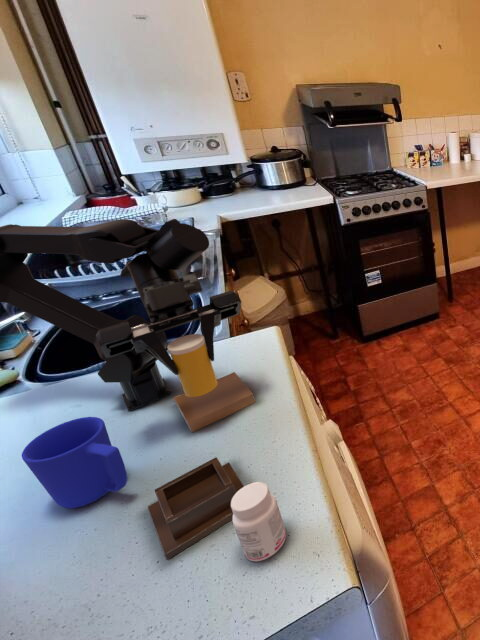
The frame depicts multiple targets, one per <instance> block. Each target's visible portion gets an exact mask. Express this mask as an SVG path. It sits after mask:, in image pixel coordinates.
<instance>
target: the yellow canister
mask: <svg viewBox="0 0 480 640" xmlns="http://www.w3.org/2000/svg"><path fill="white" fill-rule="evenodd" d="M166 350H167V352H168V354H169V355H170V357H171V359H172V360H173V362H174V363H175V365H176V368H177V370H178V373H179V374H178V375H177V376H178V379H179V381H180V385H181V388H182V390H183V393H185V395H186V396H188V397H198V396H201V395H204V394H207V393H209V392H210V391H212V390H213V389H214V388H215V387H216V386H217V384H218V382H217V379H218V378H217V376H216V372H215V370H214V367H213V364H212V361H211V360H210V357H209V354H208V351H207V348H206V345H205V339H204V337H203V335H202V334H201V333H200V334H199V333H192V334H187V335H182V336H180V337H177V338H175V339H174V340H172V341H170V342H169V343H168V344H167V347H166Z"/></svg>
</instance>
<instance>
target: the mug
mask: <svg viewBox="0 0 480 640" xmlns="http://www.w3.org/2000/svg"><path fill="white" fill-rule="evenodd" d="M21 458H22V461H23V462H24V463H25V465H26V466H27V467H28V469H29V470H30V471H31V473H32V474H33V475H34V476H35V478H36V479H37V480H38V482H39V483H40V484H41V486H42V487H43V488H44V489H45V491H46V492H47V493H48V495H49V496H50V497H51V499H52V500H53V501H54V502H55V504H57V506H59V507H61V508H65V509H75V508H79V507H80V508H81V507H83V506H86V505H89V504H92V503H93V502H96V501H97V500H99V499H100V498H102V497H104V496H105V495H106V494H107V493H109V492H118V491H121V489H123V488H124V487H125V486H126V485H127V483H128V473H127V470H126V466H125V463H124V460H123V457H122V454H121V452H120V449H119V448H118V447H117V446H115V445H112V443H111V440H110V436H109V433H108V430H107V427H106V424H105V421H104V420H103V419H102V418H101V417H96V416H86V417H84V416H83V417H79V418H74V419H71V420H69V421H68V420H67V421H65V422H62V423H60V424H58V425H55V426H53V427H51V428H49V429H47V430H46V431H44V432H42V433H41V434H39V435H37V436H35V438H34V439H32V440H31V441H30V442H29V443H28V444H27V445H26V446H25V447H24V448H23V451H22V452H21Z"/></svg>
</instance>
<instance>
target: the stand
mask: <svg viewBox="0 0 480 640" xmlns="http://www.w3.org/2000/svg"><path fill="white" fill-rule="evenodd" d="M244 486H245V485H244V484H243V483H242V481H241V479H240V478H239V476H238V475H237V473H236V472H235V469H234V468H233V467H232V464H231V463H230V462H226V463H225V464H223V465H222V463H221V462H220V460H219V459H218V457H217V456H216V457H214V458H212V459H210V460H208V461H206V462H204V463H202V464H201V465H198V466H197V467H194V468H192V469H191V470H189V471H187V472H185V473H184V474H181V475H179V476H178V477H176V478H174V479H172V480H170V481H168V482H167V483H164V484H162V485H160V486H159V487H157V488H155V489H154V494H155V496H156V498H157V501H154V502H153V503H151V504H149V505H148V506H147V509H148V512H149V515H150V519H151V520H152V524H153V526H154V530H155V533H156V535H157V537H158V540H159V544H160V546H161V549H162V551H163V555H164V557H165V559H166V561H168V560H170V559H172V558H173V557H174V556H176V555H178V554H180V553H182V552H183V551H184V550H186V549H188V548H189V547H191V546H193V545H194V544H196V543H197V542H199V541H200V540H202V539H204V538H205V537H207V536H208V535H210V534H211V533H213V532H215V531H216V530H218V529H219V528H221V527H222V526H224V525H226V524H227V523H229V522H230V521H233V520H232V518H233V511H232V508H231V500H232V498H233V496H234V495H235V494H236V493H237V492H238V491H239V490H240V489H241V488H243V487H244Z"/></svg>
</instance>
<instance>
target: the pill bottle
mask: <svg viewBox="0 0 480 640" xmlns="http://www.w3.org/2000/svg"><path fill="white" fill-rule="evenodd" d="M243 486H244V487H243V488H241V489H240V490H239V491H238V492H237V493H236V494H235V495H234V496H233V498H232V500H231V508H232V511H233V518H232V520H231V521H232V525H233V527H234V531H235V533H236V535H237V538H238V541H239V544H240V545H241V549H242V552H243V554H244V556H245V558H246V559H248V561H251V562H261V561H264V560H267V559H268V558H271V557H272V556H274V555H275V554H276V553H277V552H278V551H279V550H280V549H281V548H282V546H283V545H284V543H285V541H286V537H287V531H286V527H285V524H284V520H283V517H282V514H281V510H280V507H279V505H278V501H277V499H276V497H275V496H274V495H273V494H272V493H271V491H270V489H269V487H268V484H266V483H265V482H262V481H256V482H255V481H254V482H251V483H248V484H246V485H243Z"/></svg>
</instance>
